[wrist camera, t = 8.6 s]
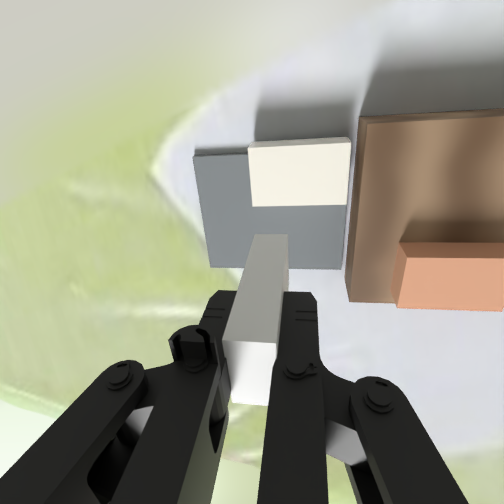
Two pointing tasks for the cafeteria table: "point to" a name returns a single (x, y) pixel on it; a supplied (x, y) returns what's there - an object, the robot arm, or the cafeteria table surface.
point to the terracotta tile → (449, 276)
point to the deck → (422, 190)
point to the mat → (261, 218)
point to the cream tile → (299, 172)
